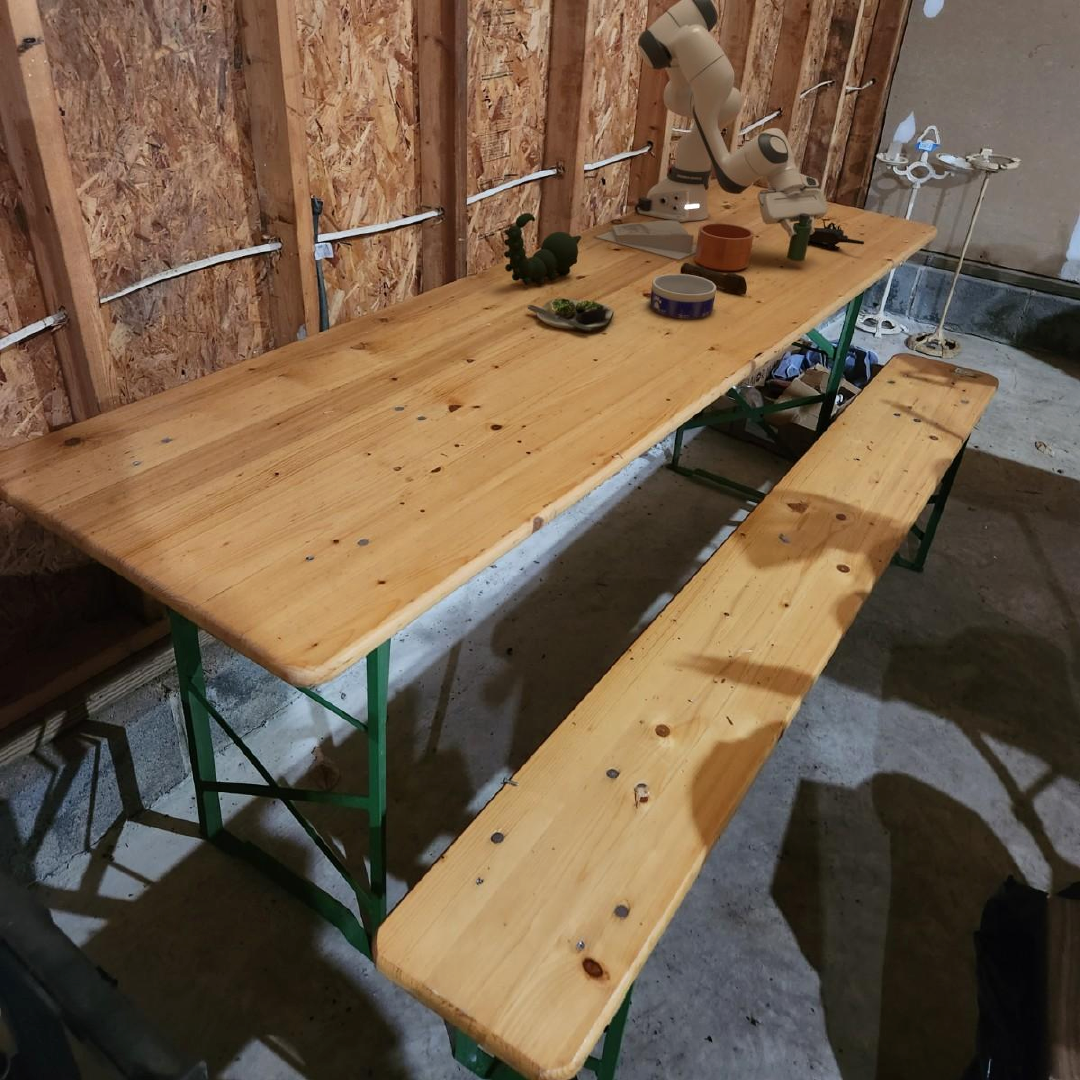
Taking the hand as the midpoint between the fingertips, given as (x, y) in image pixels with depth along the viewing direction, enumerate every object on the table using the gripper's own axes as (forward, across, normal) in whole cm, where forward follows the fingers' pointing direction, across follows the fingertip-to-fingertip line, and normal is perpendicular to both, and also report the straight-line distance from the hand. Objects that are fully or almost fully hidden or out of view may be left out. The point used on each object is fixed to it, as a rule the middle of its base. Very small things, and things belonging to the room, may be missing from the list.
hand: (802, 234), depth 250 cm
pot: (0, -19, +12) cm, 23 cm away
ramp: (-16, -28, +29) cm, 43 cm away
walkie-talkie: (-1, +23, +15) cm, 27 cm away
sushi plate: (+17, -77, -5) cm, 79 cm away
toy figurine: (-2, -72, +14) cm, 74 cm away
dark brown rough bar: (+10, -31, +2) cm, 33 cm away
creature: (-8, +33, +22) cm, 40 cm away
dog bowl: (+18, -49, -5) cm, 52 cm away
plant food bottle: (+4, 0, +5) cm, 7 cm away
